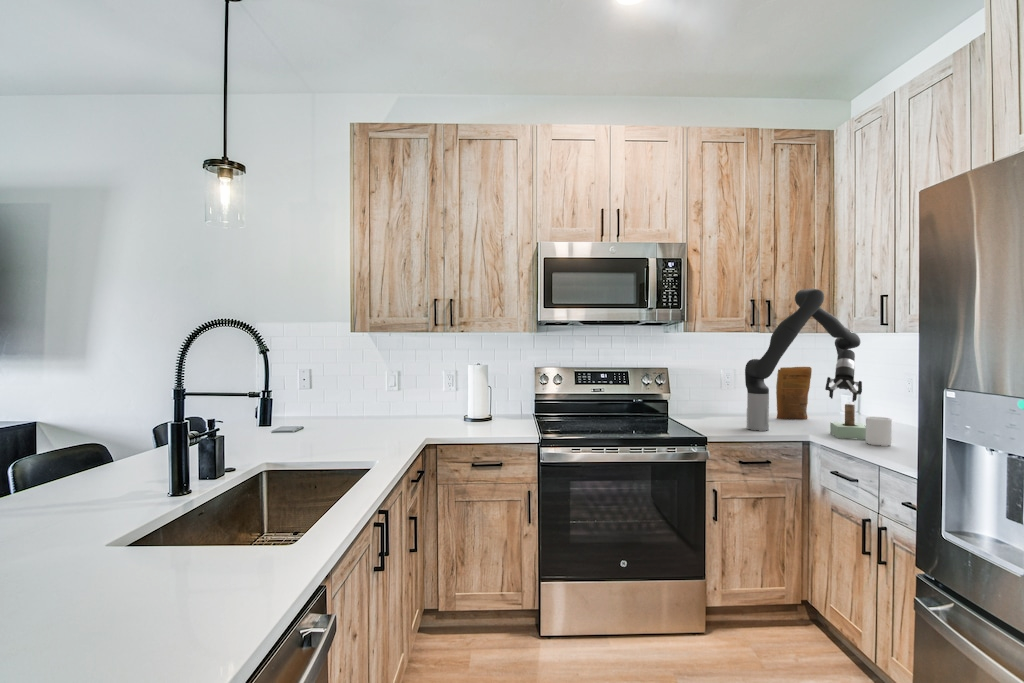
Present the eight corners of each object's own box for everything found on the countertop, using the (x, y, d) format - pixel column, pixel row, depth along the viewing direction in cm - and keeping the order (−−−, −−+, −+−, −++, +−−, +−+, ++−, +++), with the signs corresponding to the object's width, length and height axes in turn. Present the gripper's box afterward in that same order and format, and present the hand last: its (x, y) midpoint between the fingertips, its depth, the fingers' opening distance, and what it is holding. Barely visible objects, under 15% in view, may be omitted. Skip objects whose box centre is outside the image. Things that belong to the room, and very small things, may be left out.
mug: (877, 440, 218) (877, 415, 218) (896, 446, 206) (896, 419, 206) (856, 440, 219) (856, 415, 218) (873, 446, 207) (874, 419, 206)
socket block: (837, 438, 223) (837, 426, 223) (830, 433, 234) (830, 422, 234) (870, 439, 219) (870, 428, 219) (861, 434, 231) (861, 423, 231)
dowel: (846, 436, 226) (846, 405, 226) (843, 435, 229) (843, 404, 229) (855, 437, 225) (855, 405, 224) (853, 435, 228) (853, 404, 228)
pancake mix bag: (814, 420, 271) (815, 367, 271) (778, 419, 272) (778, 366, 272) (808, 418, 278) (808, 366, 278) (772, 417, 279) (772, 366, 278)
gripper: (828, 363, 246) (825, 392, 238) (864, 367, 239) (862, 397, 231) (826, 372, 251) (823, 400, 244) (861, 376, 244) (859, 405, 237)
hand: (842, 399), depth 238 cm, fingers open, 8 cm apart
